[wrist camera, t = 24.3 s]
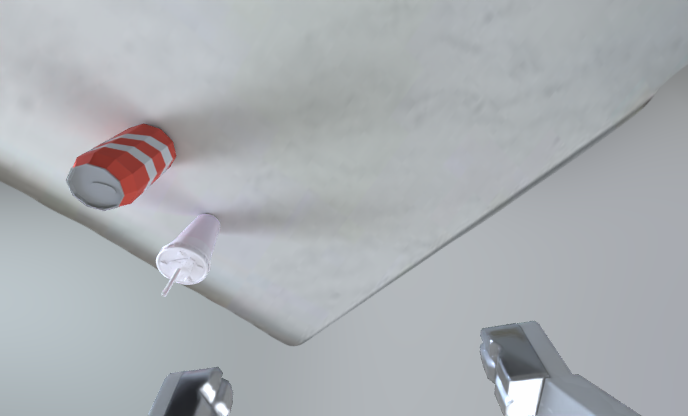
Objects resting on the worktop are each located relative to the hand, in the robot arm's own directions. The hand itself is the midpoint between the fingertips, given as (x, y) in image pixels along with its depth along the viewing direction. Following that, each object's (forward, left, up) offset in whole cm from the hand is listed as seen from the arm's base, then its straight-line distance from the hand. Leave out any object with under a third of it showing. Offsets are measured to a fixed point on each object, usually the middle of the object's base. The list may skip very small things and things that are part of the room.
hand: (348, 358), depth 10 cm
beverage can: (+25, +1, -35) cm, 43 cm away
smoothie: (+23, +14, -35) cm, 44 cm away
